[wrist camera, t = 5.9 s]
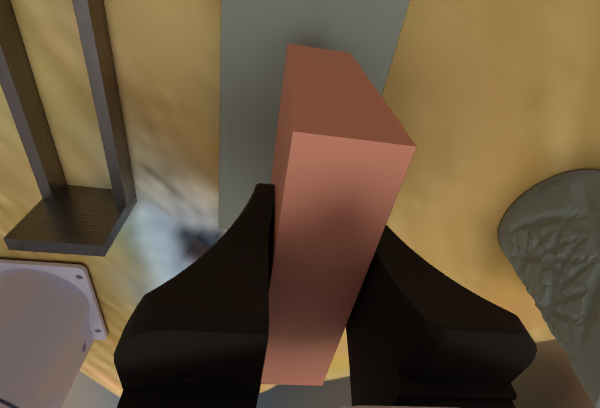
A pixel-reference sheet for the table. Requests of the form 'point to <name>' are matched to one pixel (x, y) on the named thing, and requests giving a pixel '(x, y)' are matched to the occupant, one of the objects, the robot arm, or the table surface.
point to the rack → (42, 154)
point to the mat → (270, 69)
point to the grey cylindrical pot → (562, 263)
